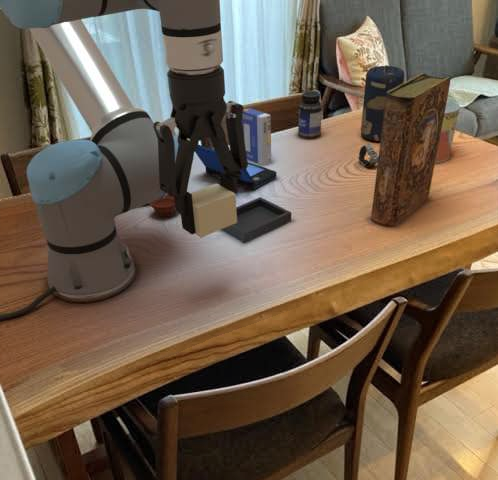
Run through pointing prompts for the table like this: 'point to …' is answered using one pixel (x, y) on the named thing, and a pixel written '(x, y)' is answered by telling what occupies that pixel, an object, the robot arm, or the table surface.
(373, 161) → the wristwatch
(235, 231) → the dark grey tray
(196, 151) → the game console
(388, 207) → the book
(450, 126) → the canned food
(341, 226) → the table surface
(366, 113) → the canister
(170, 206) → the pottery
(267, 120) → the walkman
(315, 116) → the pill bottle
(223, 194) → the beige rectangular block
